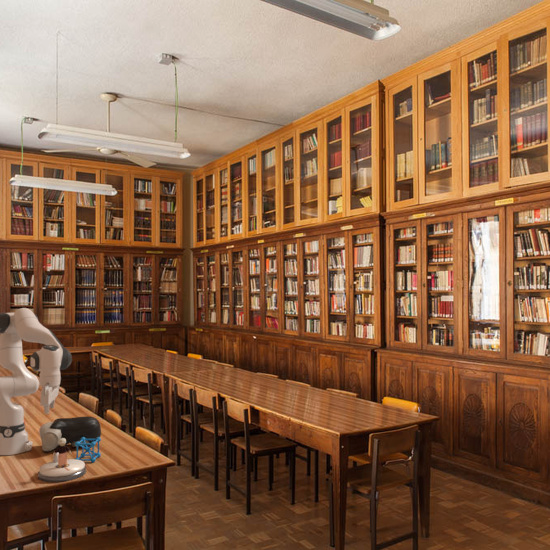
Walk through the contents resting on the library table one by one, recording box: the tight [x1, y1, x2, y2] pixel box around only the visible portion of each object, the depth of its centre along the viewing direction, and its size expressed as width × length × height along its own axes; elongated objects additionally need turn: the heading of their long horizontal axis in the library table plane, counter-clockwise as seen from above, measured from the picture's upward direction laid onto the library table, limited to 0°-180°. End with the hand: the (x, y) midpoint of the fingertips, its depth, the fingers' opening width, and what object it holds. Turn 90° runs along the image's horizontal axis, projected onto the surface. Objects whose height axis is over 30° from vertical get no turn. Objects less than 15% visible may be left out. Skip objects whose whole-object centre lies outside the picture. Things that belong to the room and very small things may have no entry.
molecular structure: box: [74, 436, 102, 464], centre depth 257 cm, size 10×10×10 cm
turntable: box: [39, 452, 86, 477], centre depth 237 cm, size 19×19×6 cm
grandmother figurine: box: [52, 438, 73, 468], centre depth 236 cm, size 8×4×13 cm, turn 128°
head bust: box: [38, 415, 102, 454], centre depth 277 cm, size 22×17×30 cm
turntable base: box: [37, 465, 87, 483], centre depth 237 cm, size 20×20×2 cm
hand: (49, 410), depth 242 cm, fingers open, 8 cm apart
